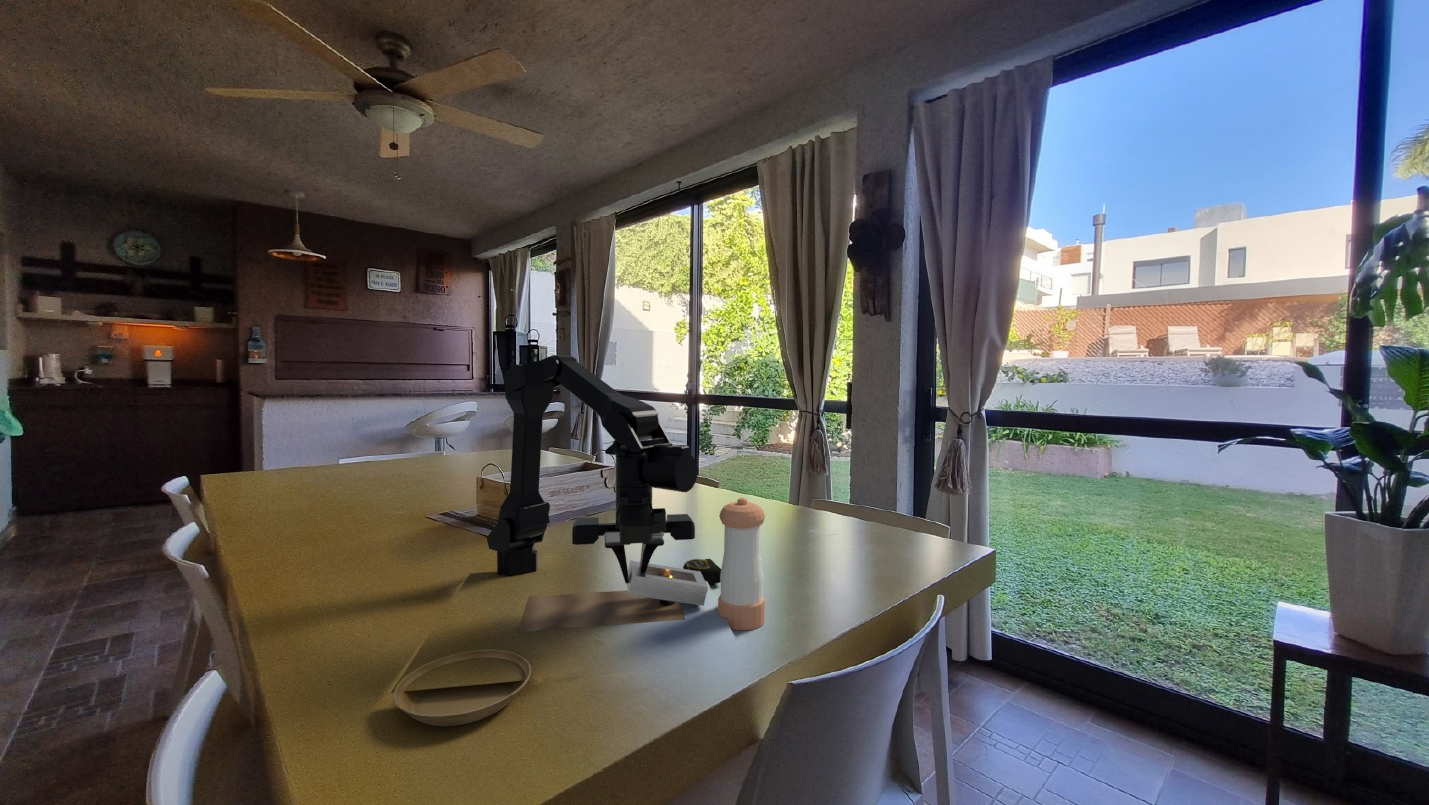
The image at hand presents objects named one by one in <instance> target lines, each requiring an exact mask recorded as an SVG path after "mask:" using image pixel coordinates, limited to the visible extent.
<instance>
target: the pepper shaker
mask: <svg viewBox="0 0 1429 805" xmlns="http://www.w3.org/2000/svg"><path fill="white" fill-rule="evenodd" d="M765 514H766V513H765V511H764V509H763V508H762V507H761V506H760V505H758V504H756V503H755V502H750V501H749V500H748V499H747V498H745V497H739V498H738V499H737V500H736V501H734V502H733V501H732V502H730V503H728V504H725V505H724V506H723V507H722V509H721V510H720V512H719V515H718V516H719V520H720V521H721V523H722V525H724V531H723V532H724V535H723V536H724V537H723V538H724V539H723V540H724V541H723V542H724V543H723V556H722V563H721V567H720V568H721V574H720V583H719V584H720V587H719V588H720V594H719V595H718V598H717V611H718V612H717V613H718V614H719V615H720V616H721V617H723V618H725V620H726V622H727V624H728V626H729V628H730V630H734V631H735V630H736V631H751V630H755V629H759V628H760V627H761V626H763V625H764V624H765V622H766V620H765V619H766V599H765V597H764V595H763V592H764V590H763V589H764V588H763V587H764V573H763V566H762V560H761V552H760V551H761V548H760V547H761V544H760V542H761V541H760V540H761V539H760V538H761V529H760V528H761V526H762V525H763V523H764V522H765V518H766V515H765Z"/></svg>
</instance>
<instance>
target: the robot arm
mask: <svg viewBox="0 0 1429 805" xmlns="http://www.w3.org/2000/svg"><path fill="white" fill-rule="evenodd" d="M560 386H562V387H564V388H565V389H566V390H567V391H569V392H570V393H571V394H573V395H574V396H575V397H576V398H577V399H578V400H579V401H581V402H582V403H583V404H584V405H586V406H588V407H589V409H591V410H592V411H594V412H595V413H596V414H597V415H598V417H599V419H600V423H601V426H602V428H603V429H604V430H605V431H606V432H607V433H608V435H609V436H610V437H612V439H613V442H612V443H611V445H610V446H608V447H607V448H606V449H605V450H604V453H605V455H609V456H610V455H611V456H615V522H605V523H602V522H600V518H599V517H598V516H596V517H577V518H576V519H575V520H574V521H573V523H572V527H571V528H572V532H571V536H572V537H571V538H572V539H571V544H572V545H575V546H577V545H579V546H580V545H594V544H595V543H596V542H597V541H598V540H599V537H603V539H604V548H605V549H611V551H613V554H614V555H615V558H617V561H618V563H619V567H620V570H621V573H622V577H623V580H624V582H625V584H627V583H628V561H627V555H626V548H625V546H629V545H632V544H641V550H640V558H639V559H640V561H639V562H640V571H641V574H645V573H646V570H647V567H648V564H650V560H651V558H652V556H653V554H654V552H655V550H657V548H658V547H662V546H664V545H665V540H664V536H665V534H669V536H671V538H673V540H675V541H685V540H686V541H688V540H694V539H696V527H695V526H696V525H695V522H694V520H693V519H692V517H691V516H689V514H688V513H679V514H678V513H674V514H667V513H666V508H665V507H663V508H660V507H659V508H658V507H657V508H655V507H653V488H654V489H659V490H660V489H661V490H665V491H673V492H681V493H688V492H689V491H691V490H692V489H693V488H694V486H695V483H696V482H697V478H698V473H699V472H698V470H699V469H698V468H699V467H698V465H697V463H696V460H695V458H694V456H693V455H692V454H690V446H689V445H683V444H681V445H673V442H672V440H671V439H670V437H669V435H668V433H667V431H666V430H665V428H664V426H663V425H662V424H663V423H661V421H660V420H659V413H658V411H657V409H655V407H653V405H650V404H648V403H647V402H645V401H643V400H640V399H637V398H634V397H631V396H628V395H625V394H622V393H620V392H618V391H617V390H616V389H615V388H613V387H612V386H610V385H609V384H608V383H607V382H605V381H603V380H602V379H601V378H599V377H598V376H597V375H596V374H594V373H593V372H591V370H589V369H588V368H586V367H585V366H583V364H581V363H579V361H578V359H577V358H576V357H574V356H573V355H564V354H563V355H562V354H559V355H558V354H557V355H556V354H552V355H550V356H547V357H545V358H543V359H539V360H536V361H533V362H531V361H530V362H528V363H525V364H524V363H523V364H513V365H511V366H510V367H509V369H507V370H506V372H505V374H504V392H505V393H504V394H505V397H504V398H505V400H506V402H507V403H508V406H509V408H510V409H511V410H512V412H513V424H512V426H513V427H512V445H511V447H512V448H511V451H512V452H511V468H510V488H509V489H510V490H509V493H508V494H507V496H506V498H505V499H504V501H503V502H502V504H501V505H500V508H499V513H498V519H497V524H495V526H494V527H493V528H492V530H491V531H490V533H489V534H488V535H487V536H486V542H487V546H488V549H489V550H491V551H496V564H497V565H496V570H497V572H496V575H498V576H499V575H503V576H506V577H507V576H508V577H517V576H522V575H526V574H532V573H536V572H537V570H538V569H539V561H538V560H539V556H538V555H539V551H538V549H535V544H538V543H542V542H543V539H544V535H545V532H546V530H547V528H548V524H550V522H551V521H550V509H551V504H550V502H549V501H545V500H544V499H543V497H542V495H541V494H540V476H541V459H542V458H541V455H542V440H543V438H542V437H543V421H544V420H543V418H544V414H545V412H546V410H547V409H548V407H549V406H550V405H551V403H552V401H553V398H554V392H555V388H557V387H560Z"/></svg>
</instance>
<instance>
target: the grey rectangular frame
mask: <svg viewBox="0 0 1429 805" xmlns="http://www.w3.org/2000/svg"><path fill="white" fill-rule="evenodd" d="M627 569H628V583H626V590H627V591H628V595H634V596H641V597H648V598H655V599H662V600H668V601H675V602H680V603H684V604H690V605H696V606H697V605H698V606H705V602H706V597H707V593H708V589H709V588H708V586H709V585H708V583H707V581H705V580H704V578H703V576H702V574H701V572H700V571H693V570H687V569H683V568H680V567H673V566H667V565H661V564H655V563H654V564H653V563H649V564H648V567H647V570H646V573H645V574H641V571H640V561H636V560H630V561H629V564H628V567H627ZM664 574H671V575H672V576H673V577H674V578H667V577H662V576H663V575H664Z"/></svg>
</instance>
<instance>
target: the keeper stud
mask: <svg viewBox="0 0 1429 805" xmlns="http://www.w3.org/2000/svg"><path fill="white" fill-rule="evenodd" d="M662 577H667V578H674V577H673V576H672V575H671V574H664V575H663V576H662ZM660 604H661V605H663V606H671V605H674V604H675V601H668V600H662V599H660Z"/></svg>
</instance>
